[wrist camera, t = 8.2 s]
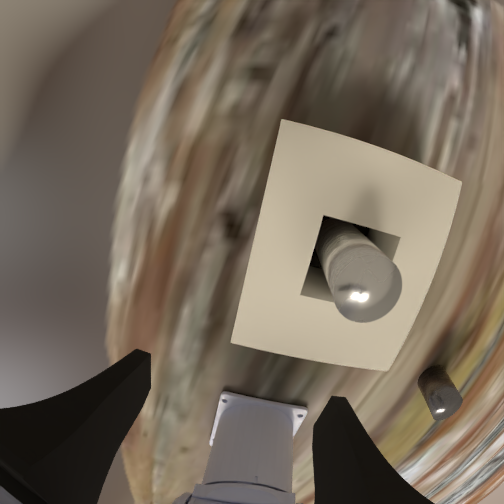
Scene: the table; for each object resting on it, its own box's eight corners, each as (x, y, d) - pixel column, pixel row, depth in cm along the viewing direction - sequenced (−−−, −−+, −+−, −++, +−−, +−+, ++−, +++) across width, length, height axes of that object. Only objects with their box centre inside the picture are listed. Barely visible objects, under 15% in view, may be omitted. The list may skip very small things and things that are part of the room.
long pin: (349, 266, 19) (385, 327, 11) (308, 255, 19) (323, 315, 11) (362, 224, 18) (412, 264, 10) (320, 212, 18) (347, 246, 10)
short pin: (434, 389, 21) (449, 419, 17) (412, 388, 21) (426, 421, 17) (449, 366, 20) (468, 395, 16) (427, 364, 21) (445, 396, 16)
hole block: (369, 330, 20) (387, 371, 15) (242, 303, 20) (230, 342, 16) (422, 176, 16) (462, 182, 12) (282, 131, 17) (281, 119, 12)
